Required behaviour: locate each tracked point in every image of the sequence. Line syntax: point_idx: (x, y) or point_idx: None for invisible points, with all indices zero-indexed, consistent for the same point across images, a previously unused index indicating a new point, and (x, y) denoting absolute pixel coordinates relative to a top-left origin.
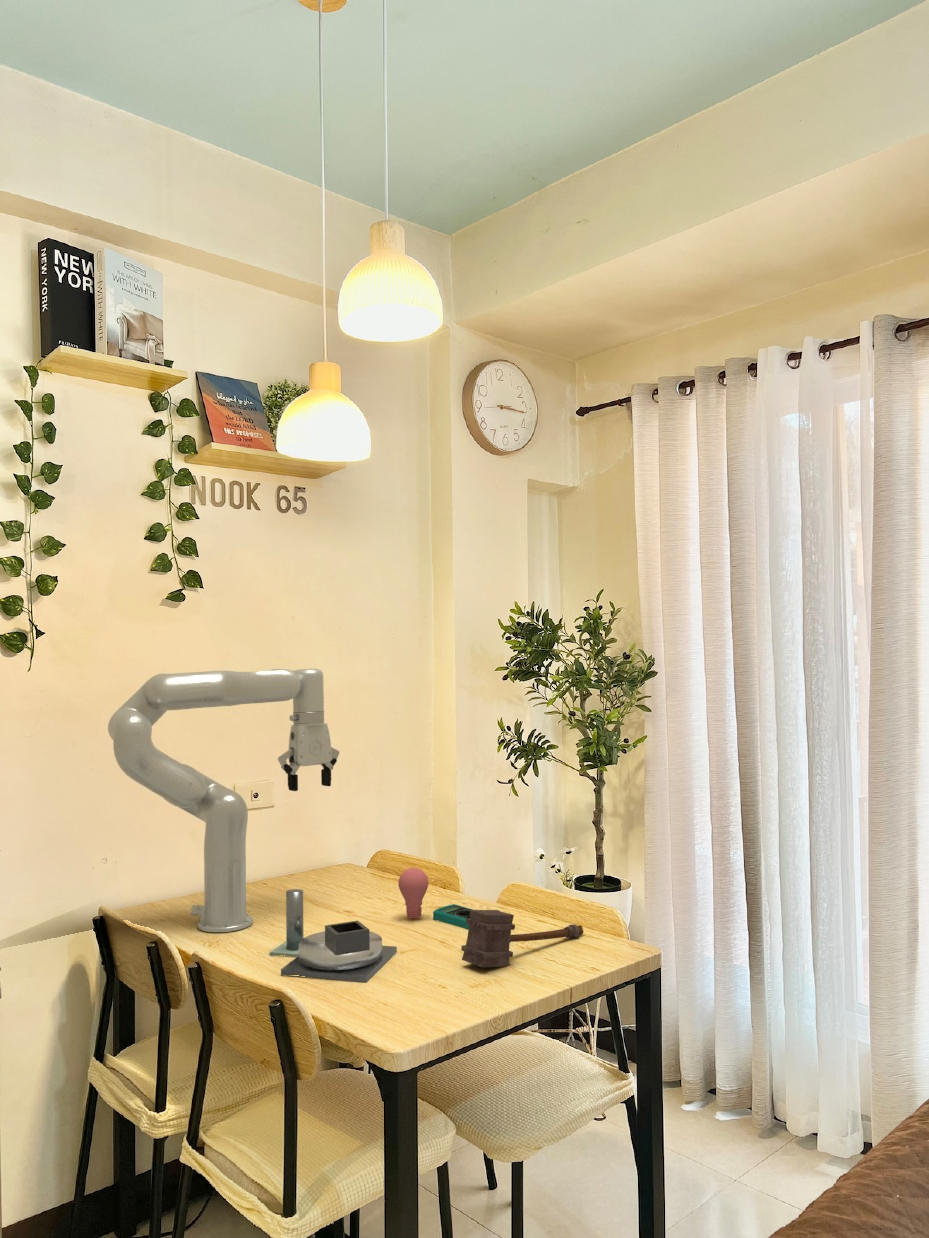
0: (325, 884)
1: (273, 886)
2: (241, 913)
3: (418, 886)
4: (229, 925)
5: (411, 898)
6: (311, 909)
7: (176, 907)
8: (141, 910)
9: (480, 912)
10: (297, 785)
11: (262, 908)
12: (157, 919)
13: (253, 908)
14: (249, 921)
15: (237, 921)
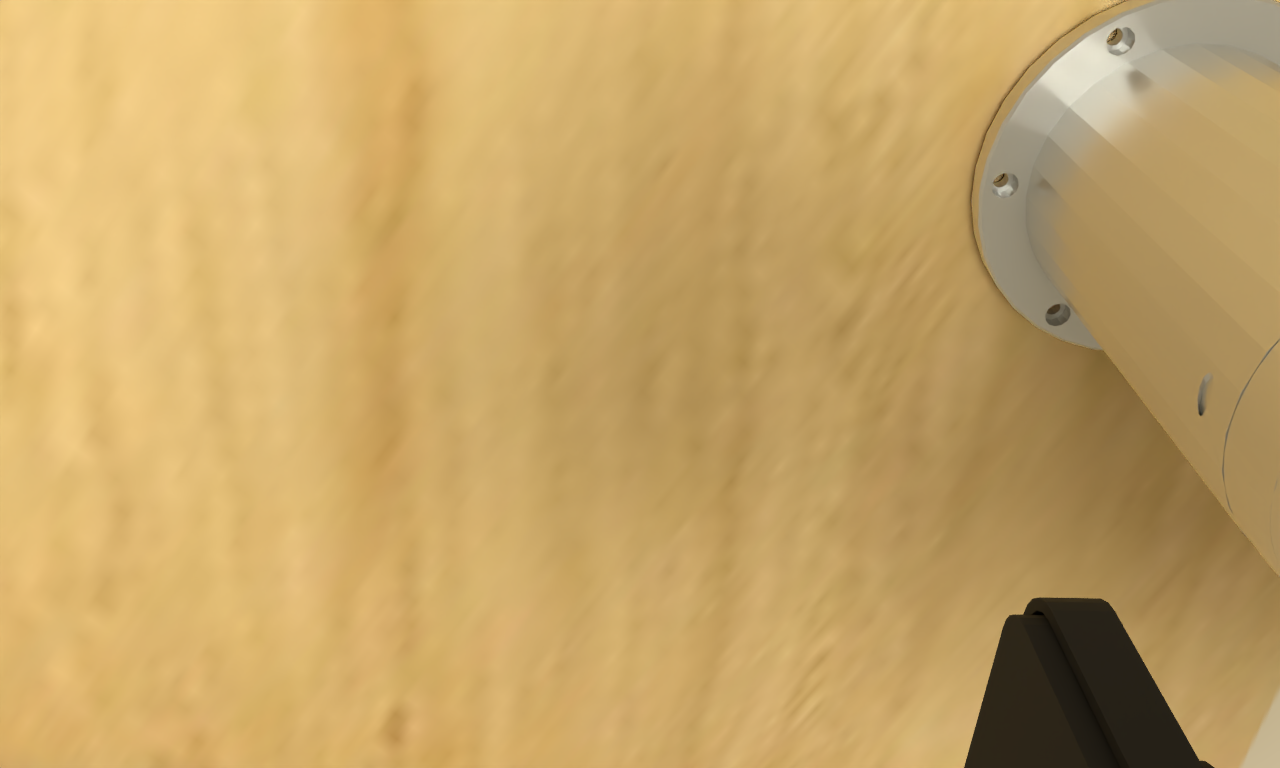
0: (89, 480)
1: (390, 655)
2: (1184, 68)
3: None
4: (1258, 49)
5: None
6: (520, 33)
7: None
8: None
9: None
10: (1101, 700)
11: (742, 317)
12: (1260, 558)
13: (780, 359)
14: (1111, 22)
15: (1204, 47)
